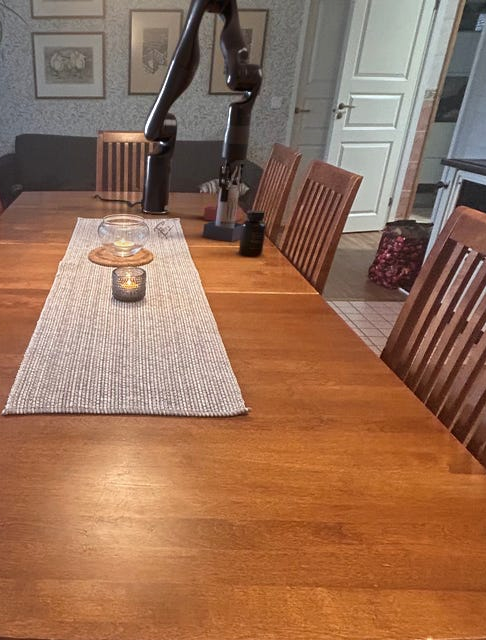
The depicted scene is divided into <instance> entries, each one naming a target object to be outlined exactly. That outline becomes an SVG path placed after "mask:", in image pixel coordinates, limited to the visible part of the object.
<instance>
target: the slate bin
mask: <svg viewBox="0 0 486 640" xmlns="http://www.w3.org/2000/svg"><path fill="white" fill-rule="evenodd" d="M242 224H243V222H242V223H241V222H235V224H234V228H227V227H221V226H215V225H216V220H215V221H209V222H207V223H203V230H202V231H203V232H202V238H207V239H212V240H218V241H224V242H229V243H233V242H235V241H238V240H240V238H241V231H242Z"/></svg>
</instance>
